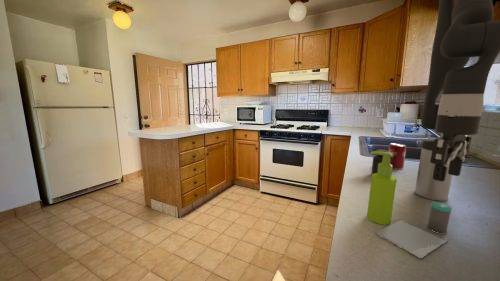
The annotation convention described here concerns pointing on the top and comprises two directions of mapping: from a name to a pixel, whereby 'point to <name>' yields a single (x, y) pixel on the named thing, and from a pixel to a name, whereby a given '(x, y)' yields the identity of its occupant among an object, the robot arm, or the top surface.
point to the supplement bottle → (377, 161)
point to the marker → (439, 217)
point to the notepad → (410, 236)
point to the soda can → (397, 155)
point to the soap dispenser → (382, 191)
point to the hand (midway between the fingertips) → (446, 177)
